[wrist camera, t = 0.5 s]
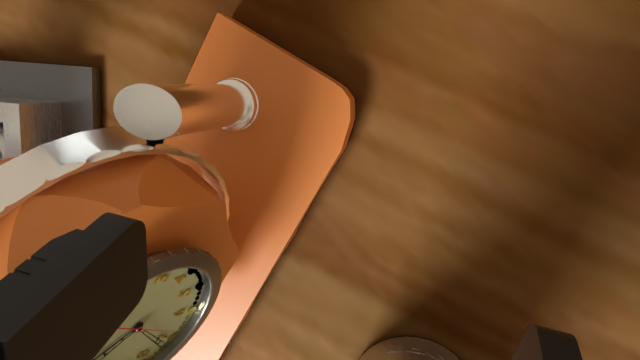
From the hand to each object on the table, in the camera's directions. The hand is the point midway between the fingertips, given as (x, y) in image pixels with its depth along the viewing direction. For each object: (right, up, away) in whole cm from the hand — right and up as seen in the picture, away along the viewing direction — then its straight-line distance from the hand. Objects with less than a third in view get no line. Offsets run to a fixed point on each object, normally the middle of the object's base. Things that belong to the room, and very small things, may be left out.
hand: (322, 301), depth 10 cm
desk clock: (-9, -1, +29) cm, 30 cm away
